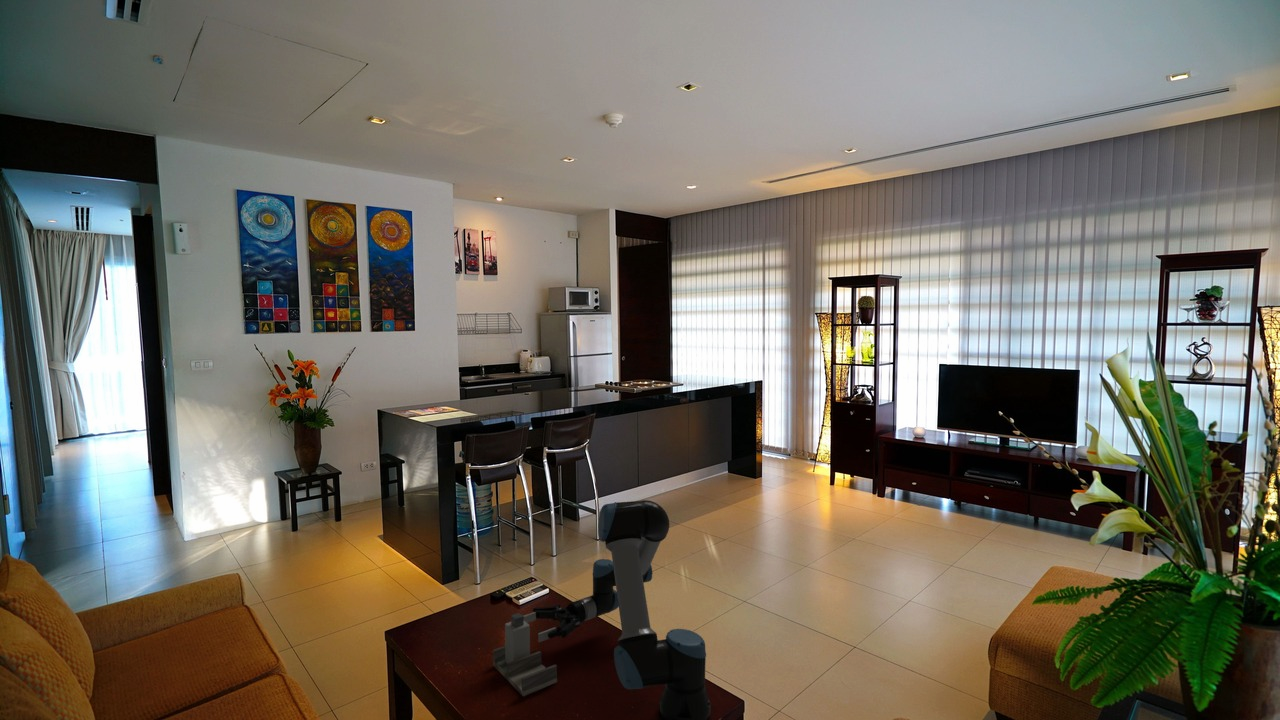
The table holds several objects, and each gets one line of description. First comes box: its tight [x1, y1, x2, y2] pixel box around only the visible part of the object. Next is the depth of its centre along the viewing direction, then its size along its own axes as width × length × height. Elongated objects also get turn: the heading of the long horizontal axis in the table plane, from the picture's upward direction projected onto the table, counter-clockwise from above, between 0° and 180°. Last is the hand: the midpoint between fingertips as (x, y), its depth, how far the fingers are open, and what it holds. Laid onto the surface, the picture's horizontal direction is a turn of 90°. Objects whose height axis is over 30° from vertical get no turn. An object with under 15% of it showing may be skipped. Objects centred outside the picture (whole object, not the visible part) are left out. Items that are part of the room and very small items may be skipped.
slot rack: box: [492, 645, 558, 697], centre depth 199 cm, size 21×12×6 cm, turn 39°
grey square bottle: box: [504, 612, 531, 663], centre depth 202 cm, size 6×6×16 cm
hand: (528, 629), depth 205 cm, fingers open, 13 cm apart
